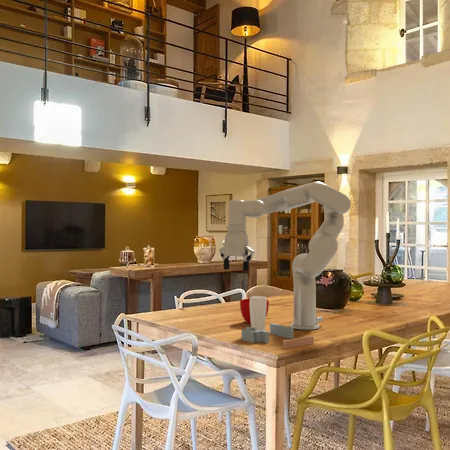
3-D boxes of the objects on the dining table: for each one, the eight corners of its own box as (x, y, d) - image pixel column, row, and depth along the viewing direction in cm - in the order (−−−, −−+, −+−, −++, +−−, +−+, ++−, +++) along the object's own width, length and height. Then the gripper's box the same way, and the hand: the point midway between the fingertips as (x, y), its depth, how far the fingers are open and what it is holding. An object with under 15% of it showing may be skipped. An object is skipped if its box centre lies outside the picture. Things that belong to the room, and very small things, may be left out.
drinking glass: (256, 332, 210) (256, 295, 211) (269, 334, 206) (269, 297, 206) (246, 334, 205) (246, 297, 205) (259, 337, 201) (260, 298, 201)
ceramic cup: (266, 318, 242) (266, 297, 242) (270, 325, 225) (270, 302, 225) (238, 318, 241) (238, 297, 241) (240, 325, 224) (241, 302, 224)
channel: (272, 333, 209) (272, 323, 209) (313, 343, 191) (313, 332, 191) (237, 338, 198) (237, 328, 198) (277, 350, 180) (277, 338, 180)
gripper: (215, 228, 218) (214, 269, 218) (249, 229, 208) (248, 271, 208) (225, 229, 224) (224, 268, 224) (259, 229, 214) (258, 270, 214)
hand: (236, 270), depth 216 cm, fingers open, 9 cm apart
